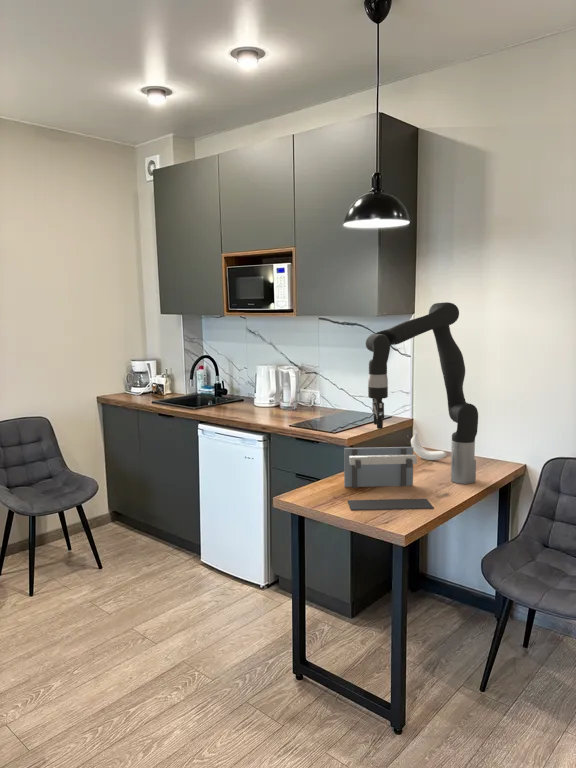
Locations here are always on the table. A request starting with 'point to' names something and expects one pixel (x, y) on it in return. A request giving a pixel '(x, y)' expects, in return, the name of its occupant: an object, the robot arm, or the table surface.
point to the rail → (382, 459)
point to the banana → (425, 453)
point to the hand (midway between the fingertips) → (378, 426)
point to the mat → (389, 504)
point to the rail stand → (377, 468)
